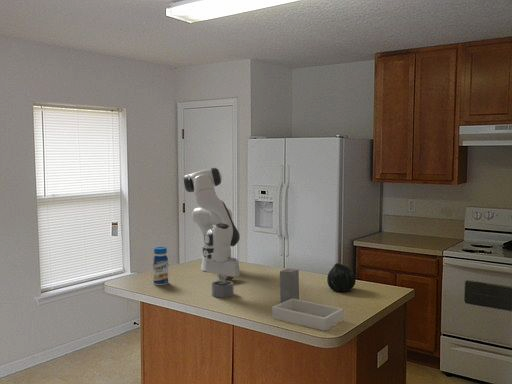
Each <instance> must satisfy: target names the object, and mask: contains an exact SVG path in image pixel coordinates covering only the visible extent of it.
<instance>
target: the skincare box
mask: <svg viewBox="0 0 512 384" xmlns="http://www.w3.org/2000/svg"><path fill="white" fill-rule="evenodd" d="M299 271H300V270H299V269H296V268H285V269H282V270H280V271H279V290H280V292H279V294H280V298H279V299H280V303H283V302H285V301H287V300H290V299H292V298H293V299H298V300H300V284H299V283H300V282H299V281H300V279H299Z"/></svg>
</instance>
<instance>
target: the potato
mask: <svg viewBox="0 0 512 384" xmlns="http://www.w3.org/2000/svg"><path fill="white" fill-rule="evenodd" d="M223 278H224V277H223V275H222V279H223ZM234 278H235V277H231V276H228V277H227V279H226V281H232V280H234Z"/></svg>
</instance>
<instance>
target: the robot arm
mask: <svg viewBox="0 0 512 384" xmlns="http://www.w3.org/2000/svg"><path fill="white" fill-rule="evenodd" d="M221 183H222V172H221V171H220V170H219V169H218V168H216V167H211V168H206V169H201V170H199V171H198V170H197V171H194V172H191V173H188V174H185V175H183V178H182V184H183V188H184V189H185V190H186V191H187V193H194V196H195V201H196V203H197V205H198V207H195V208H194V209H193V210H192V212H191V218H192V221H193V222H194V223H195V224H196V225H197V226H198V228H199V229H200V231H201V234H202V245H203V246H202V258H201V259H202V260H201V265H200V270H201V271H202V272H207V273H212V274H216V275H217V277H218V281H219V283H223V284H224V283H226V279H227V277H228V276H231V277H234V278H237V277H239V276H240V272H241V271H240V264H239V260H238V259H237V258H236V257H232V247H235V246H236V245H237V244H238V243H239V241H240V232H239V230H238V229H237V227H236V226H235V223H234V221H233V212H232V210H231V209H229V208H228V207H227V206H226V204H225V202H224V201H223V200H221V199H220V198H219V197H218V194H217V192H216V190H215V189H216V188H215V187H217V186H219V185H221ZM222 275H223V277H224V278H223V279H222Z"/></svg>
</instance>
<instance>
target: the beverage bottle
mask: <svg viewBox="0 0 512 384" xmlns="http://www.w3.org/2000/svg"><path fill="white" fill-rule="evenodd" d="M153 249H154V250H153V252H154V253H153V254H154V257H153V259H152V261H153V263H152V267H153V284H154V286H155V285H156V286H164V285H168V284H169V262H168V261H169V257H168V256H167V252H168V251H167V250H168V249H167V247H165V246H156V247H154V248H153Z"/></svg>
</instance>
